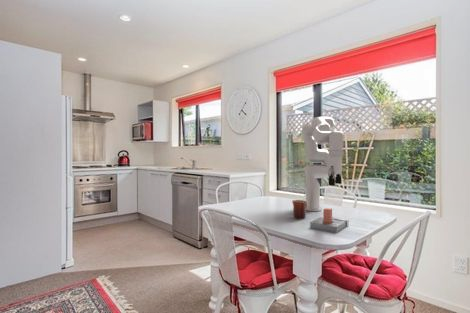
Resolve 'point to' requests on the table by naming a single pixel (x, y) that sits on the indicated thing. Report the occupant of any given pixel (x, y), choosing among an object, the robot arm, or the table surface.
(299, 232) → the table surface
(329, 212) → the pin
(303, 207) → the mug
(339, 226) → the square hole plate
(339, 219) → the tilted grey slab block
